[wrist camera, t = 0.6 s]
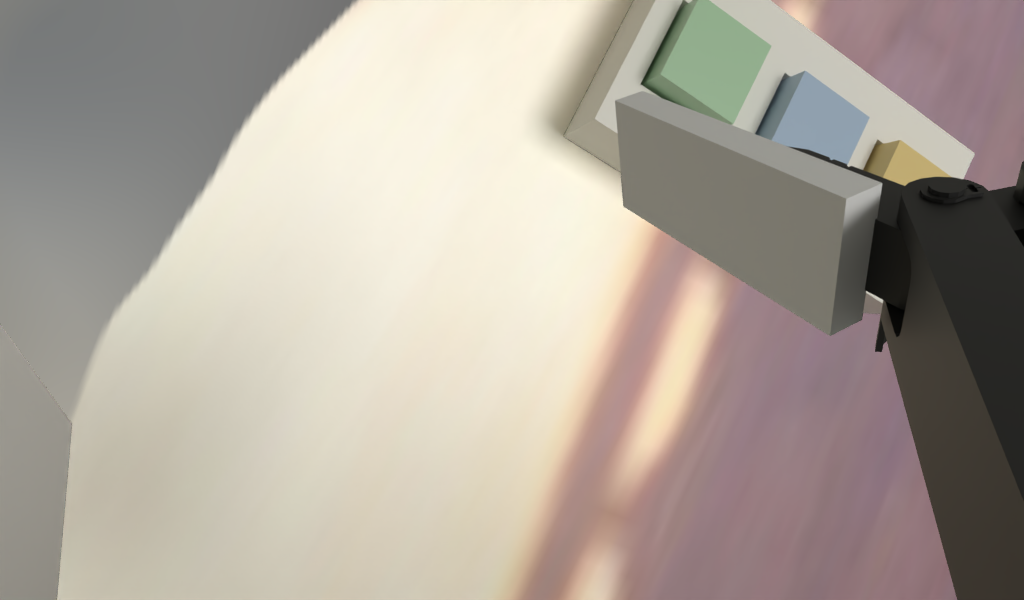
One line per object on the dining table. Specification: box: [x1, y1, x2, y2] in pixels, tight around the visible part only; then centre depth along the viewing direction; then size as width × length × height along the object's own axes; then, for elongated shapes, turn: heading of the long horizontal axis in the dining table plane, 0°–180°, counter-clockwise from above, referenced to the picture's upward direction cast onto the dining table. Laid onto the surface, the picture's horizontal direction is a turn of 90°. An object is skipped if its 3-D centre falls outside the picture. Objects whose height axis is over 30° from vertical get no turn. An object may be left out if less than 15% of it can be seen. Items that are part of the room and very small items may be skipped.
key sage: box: [641, 0, 771, 125], centre depth 48 cm, size 6×6×4 cm
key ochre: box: [863, 140, 951, 186], centre depth 52 cm, size 6×6×4 cm
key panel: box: [563, 0, 975, 314], centre depth 53 cm, size 28×14×6 cm, turn 62°
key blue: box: [755, 71, 870, 165], centre depth 50 cm, size 6×6×4 cm
